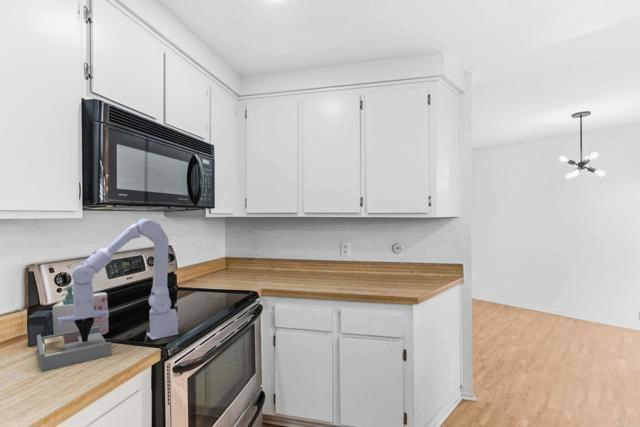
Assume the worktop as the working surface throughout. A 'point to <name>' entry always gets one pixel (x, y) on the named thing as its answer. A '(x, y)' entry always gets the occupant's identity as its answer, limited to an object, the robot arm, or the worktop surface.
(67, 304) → the soap bottle
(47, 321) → the box
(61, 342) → the maple block
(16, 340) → the worktop surface
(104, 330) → the beverage can
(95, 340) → the trap tray
